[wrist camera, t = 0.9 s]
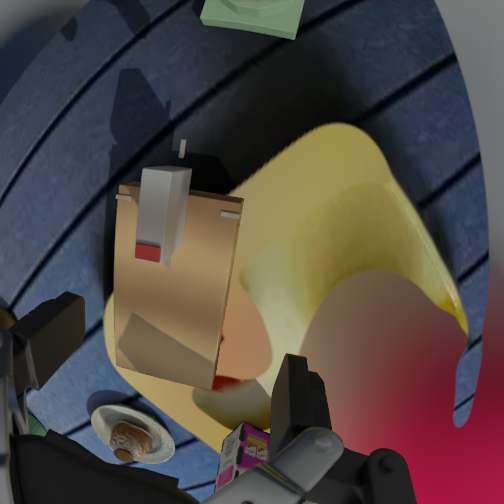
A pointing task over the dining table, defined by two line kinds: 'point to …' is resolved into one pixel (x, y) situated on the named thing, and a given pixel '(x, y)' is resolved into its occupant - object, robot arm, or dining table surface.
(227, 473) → the candy bar box
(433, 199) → the dining table surface
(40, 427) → the ramekin
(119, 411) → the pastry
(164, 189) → the tap lever
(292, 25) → the button box
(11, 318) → the kendama
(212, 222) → the panel
